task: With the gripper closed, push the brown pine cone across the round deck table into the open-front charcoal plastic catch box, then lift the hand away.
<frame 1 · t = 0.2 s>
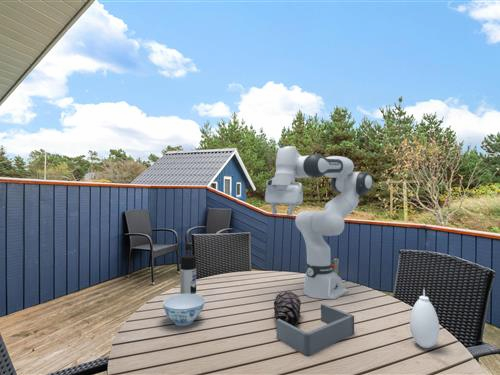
hand: (281, 214, 124), 38 cm above the table, tool pointing down, fingers open, 8 cm apart
sauce bottle: (424, 347, 90), on the table
chinaware: (184, 322, 107), on the table
catch box: (314, 335, 97), on the table
pine cone: (288, 322, 107), on the table
spray can: (188, 303, 125), on the table
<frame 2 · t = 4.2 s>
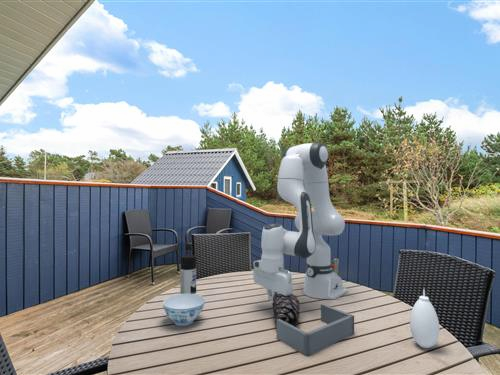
hand: (272, 300, 115), 5 cm above the table, tool pointing down, fingers closed
pine cone: (287, 323, 106), on the table, touching gripper
everything else where it was.
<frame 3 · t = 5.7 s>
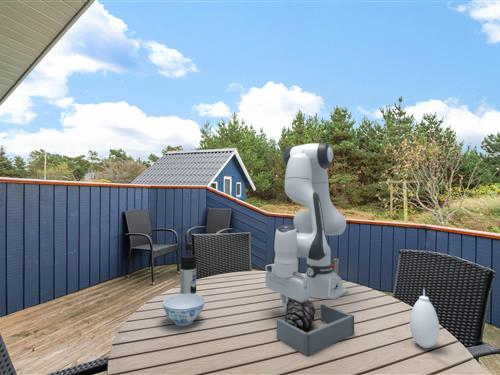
hand: (286, 306, 108), 5 cm above the table, tool pointing down, fingers closed
pine cone: (300, 331, 100), on the table, touching catch box, gripper
everything else where it was.
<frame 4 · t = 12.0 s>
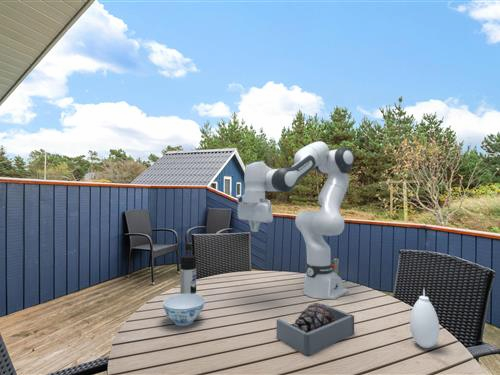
hand: (254, 231, 123), 31 cm above the table, tool pointing down, fingers closed
pine cone: (313, 338, 96), on the table, touching catch box
everything else where it was.
at the end: pine cone inside the target area on the catch box (1.6 cm from its centre), point 0.0 cm above the catch box's base; pine cone moved 13.3 cm from its start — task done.
